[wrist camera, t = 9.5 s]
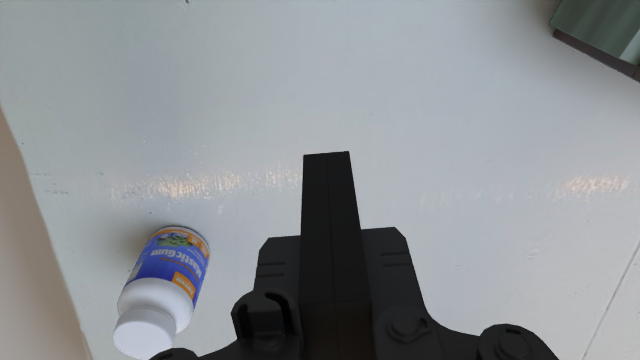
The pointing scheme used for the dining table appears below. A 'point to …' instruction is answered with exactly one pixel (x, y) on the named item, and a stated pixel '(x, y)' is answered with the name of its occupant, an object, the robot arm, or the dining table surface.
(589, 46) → the cabinet
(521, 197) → the dining table surface
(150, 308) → the pill bottle
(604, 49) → the drawer
